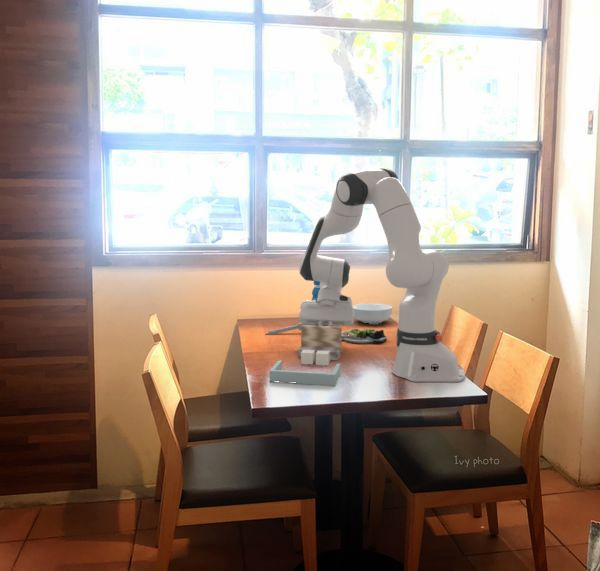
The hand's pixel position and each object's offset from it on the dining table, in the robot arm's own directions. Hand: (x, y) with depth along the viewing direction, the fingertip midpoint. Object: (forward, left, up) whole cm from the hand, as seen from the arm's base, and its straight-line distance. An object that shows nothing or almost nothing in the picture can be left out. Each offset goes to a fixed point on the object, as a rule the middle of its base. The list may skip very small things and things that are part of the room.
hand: (324, 333), depth 233 cm
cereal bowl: (-13, -48, -6) cm, 50 cm away
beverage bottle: (+8, -41, -6) cm, 43 cm away
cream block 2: (-3, +19, -6) cm, 20 cm away
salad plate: (-13, -18, -6) cm, 23 cm away
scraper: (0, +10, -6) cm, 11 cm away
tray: (0, +36, -6) cm, 36 cm away
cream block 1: (+2, +19, -6) cm, 20 cm away
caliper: (+17, -21, -6) cm, 28 cm away
